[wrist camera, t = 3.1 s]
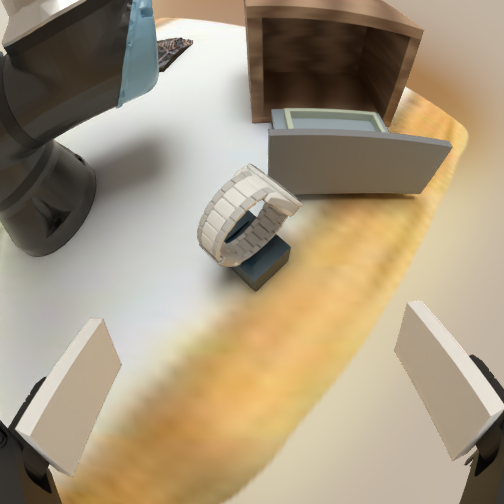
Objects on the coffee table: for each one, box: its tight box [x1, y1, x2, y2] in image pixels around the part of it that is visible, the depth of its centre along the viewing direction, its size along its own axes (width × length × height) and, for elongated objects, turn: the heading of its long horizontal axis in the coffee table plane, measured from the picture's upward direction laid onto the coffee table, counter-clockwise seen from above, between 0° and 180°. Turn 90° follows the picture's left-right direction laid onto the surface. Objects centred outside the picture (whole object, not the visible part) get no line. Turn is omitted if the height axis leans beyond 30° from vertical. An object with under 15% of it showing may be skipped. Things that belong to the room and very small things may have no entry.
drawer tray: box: [268, 108, 452, 195], centre depth 27 cm, size 18×13×8 cm
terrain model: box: [157, 38, 193, 72], centre depth 46 cm, size 20×15×3 cm
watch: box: [197, 164, 303, 292], centre depth 22 cm, size 6×8×11 cm
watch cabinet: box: [244, 0, 424, 126], centre depth 30 cm, size 20×14×17 cm
